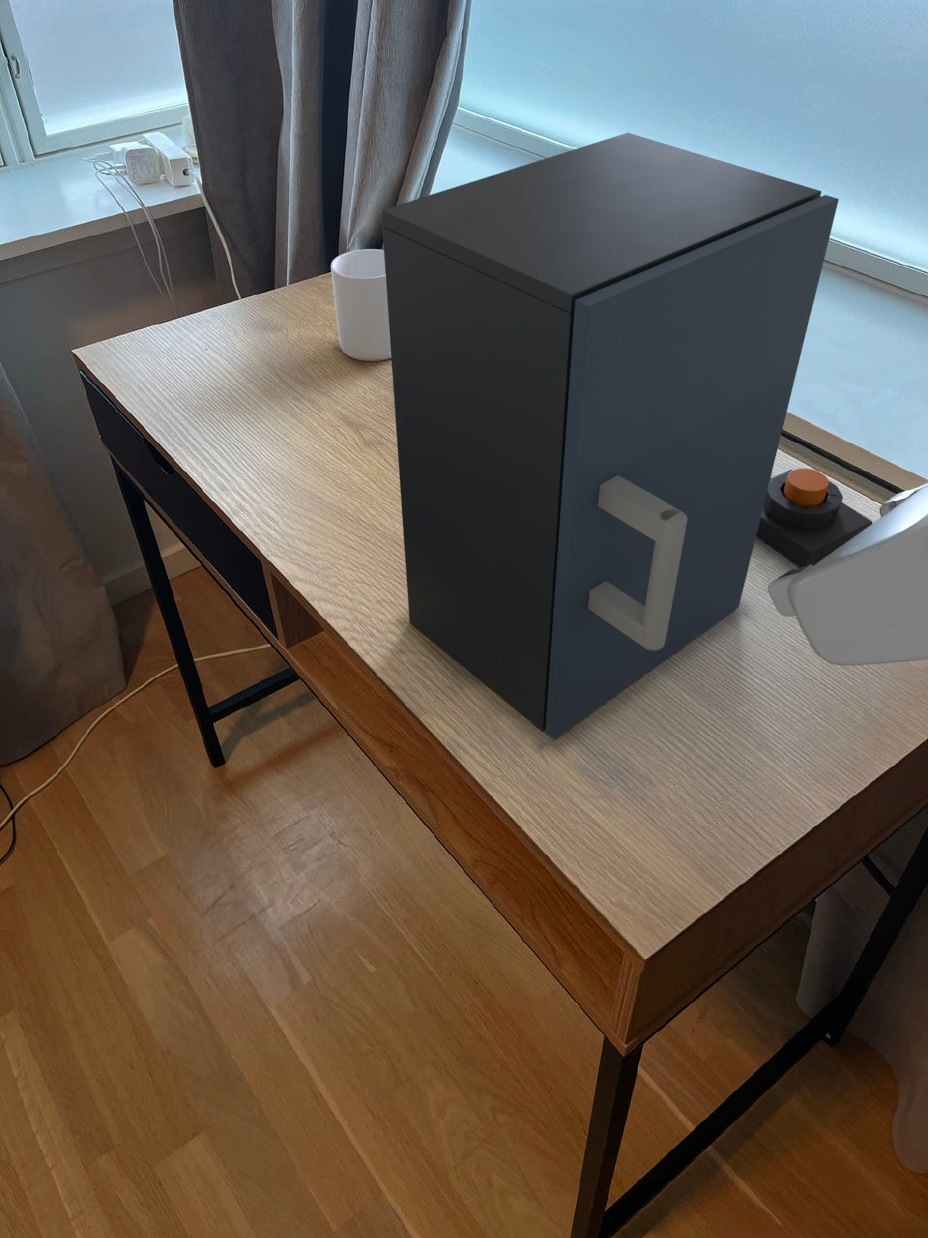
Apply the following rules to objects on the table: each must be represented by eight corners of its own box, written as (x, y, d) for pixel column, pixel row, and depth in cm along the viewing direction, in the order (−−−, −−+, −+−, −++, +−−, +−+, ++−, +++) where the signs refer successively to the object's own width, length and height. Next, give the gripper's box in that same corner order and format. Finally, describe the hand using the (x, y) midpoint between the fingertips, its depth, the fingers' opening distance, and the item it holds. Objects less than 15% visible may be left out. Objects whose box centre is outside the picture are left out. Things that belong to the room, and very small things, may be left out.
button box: (866, 540, 88) (878, 505, 86) (804, 571, 85) (815, 535, 83) (786, 487, 95) (795, 452, 92) (725, 514, 92) (733, 479, 89)
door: (796, 643, 79) (927, 225, 56) (612, 788, 68) (679, 346, 45) (729, 601, 82) (825, 194, 59) (544, 732, 72) (574, 299, 49)
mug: (313, 331, 120) (303, 248, 113) (371, 313, 124) (365, 233, 117) (360, 369, 113) (352, 284, 106) (420, 350, 116) (416, 266, 109)
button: (832, 498, 87) (837, 482, 86) (804, 511, 86) (808, 495, 85) (803, 479, 89) (807, 463, 88) (774, 491, 88) (778, 476, 87)
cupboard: (726, 601, 83) (822, 190, 59) (542, 732, 72) (571, 295, 49) (590, 517, 92) (627, 131, 68) (409, 622, 81) (380, 209, 58)
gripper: (1214, 314, 40) (923, 423, 52) (966, 502, 31) (678, 583, 43) (1272, 450, 41) (971, 527, 53) (1047, 678, 31) (740, 708, 43)
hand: (838, 553), depth 48 cm, fingers open, 8 cm apart
